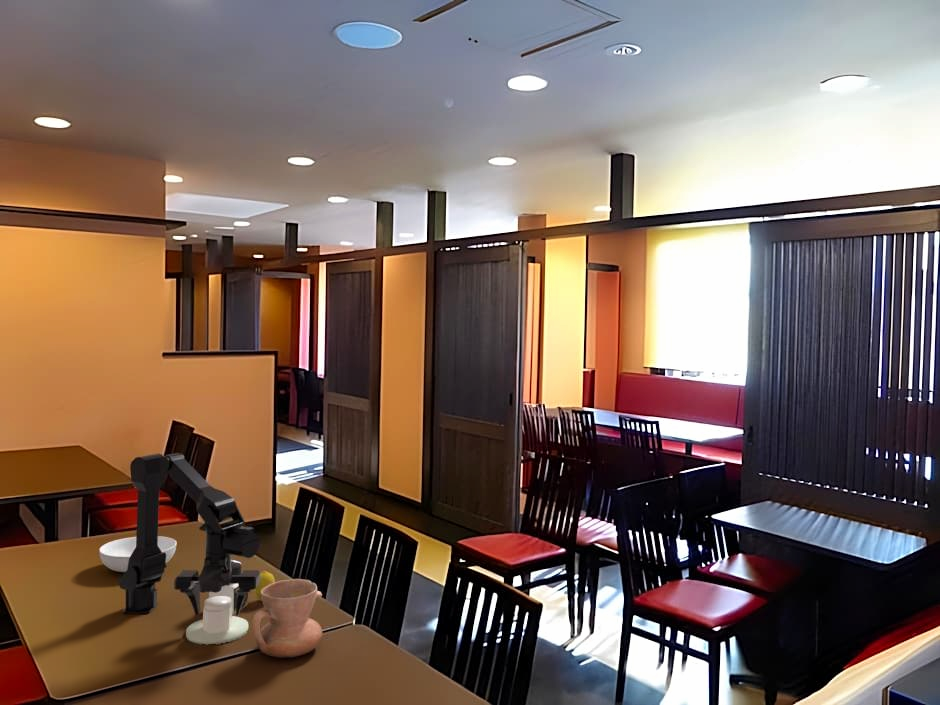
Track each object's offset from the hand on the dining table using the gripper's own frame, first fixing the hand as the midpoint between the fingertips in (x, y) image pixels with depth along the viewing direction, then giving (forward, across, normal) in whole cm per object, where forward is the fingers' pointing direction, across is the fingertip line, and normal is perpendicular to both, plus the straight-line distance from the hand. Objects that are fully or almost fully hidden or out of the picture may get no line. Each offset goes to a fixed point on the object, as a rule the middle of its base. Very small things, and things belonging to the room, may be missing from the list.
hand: (217, 615), depth 171 cm
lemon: (+4, +7, +19) cm, 21 cm away
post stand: (+4, 0, 0) cm, 4 cm away
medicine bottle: (+4, -1, +14) cm, 15 cm away
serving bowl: (+4, -35, +45) cm, 57 cm away
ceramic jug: (+4, +18, -10) cm, 21 cm away
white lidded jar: (+3, 0, 0) cm, 3 cm away
